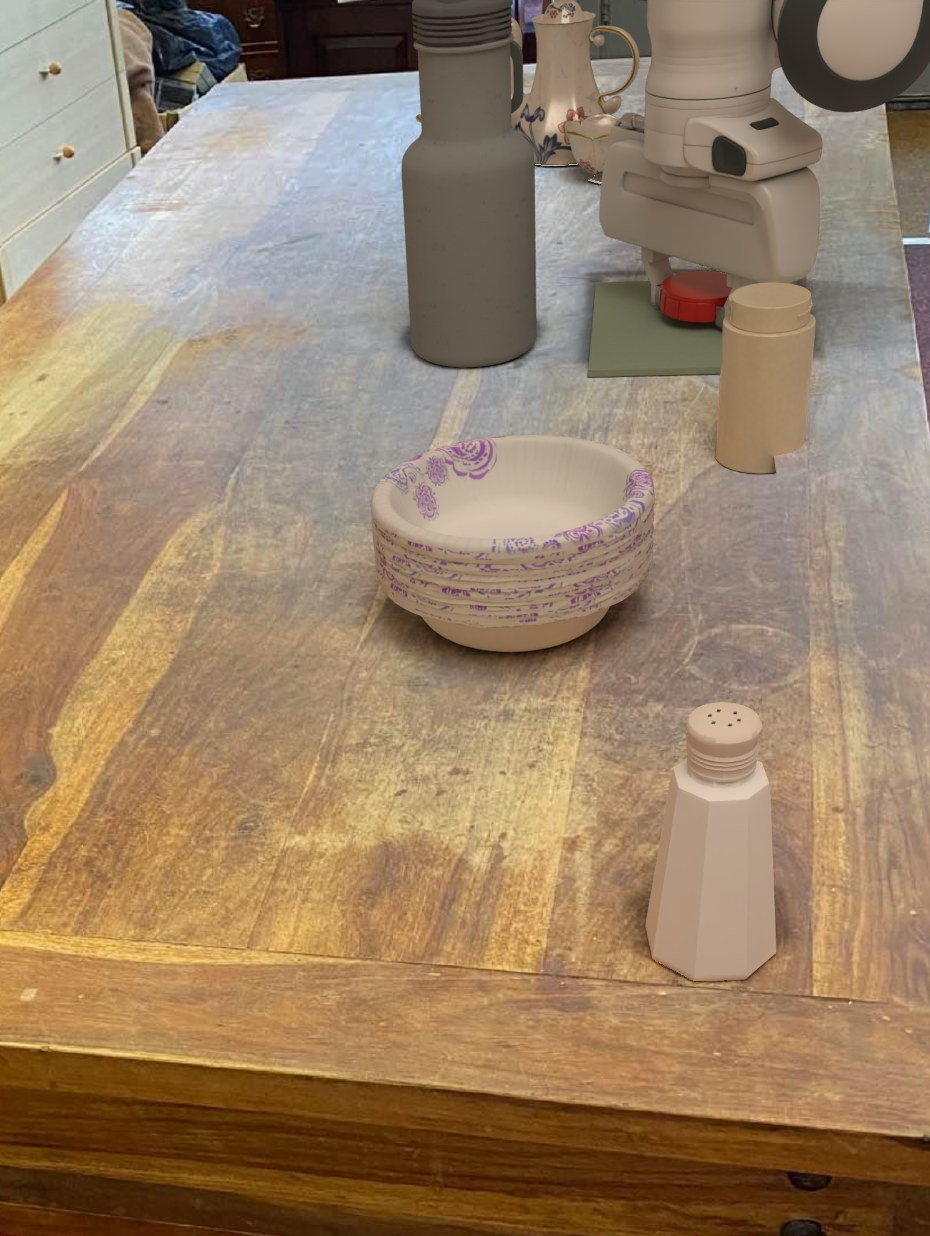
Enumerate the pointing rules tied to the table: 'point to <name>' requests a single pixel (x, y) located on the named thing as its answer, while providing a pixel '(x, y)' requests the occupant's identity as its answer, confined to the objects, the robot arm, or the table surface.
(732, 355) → the jar
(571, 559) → the paper bowls
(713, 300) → the lid
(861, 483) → the table surface
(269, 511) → the table surface
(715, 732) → the pepper shaker
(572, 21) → the chinaware
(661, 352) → the mat
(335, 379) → the table surface
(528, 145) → the water bottle
